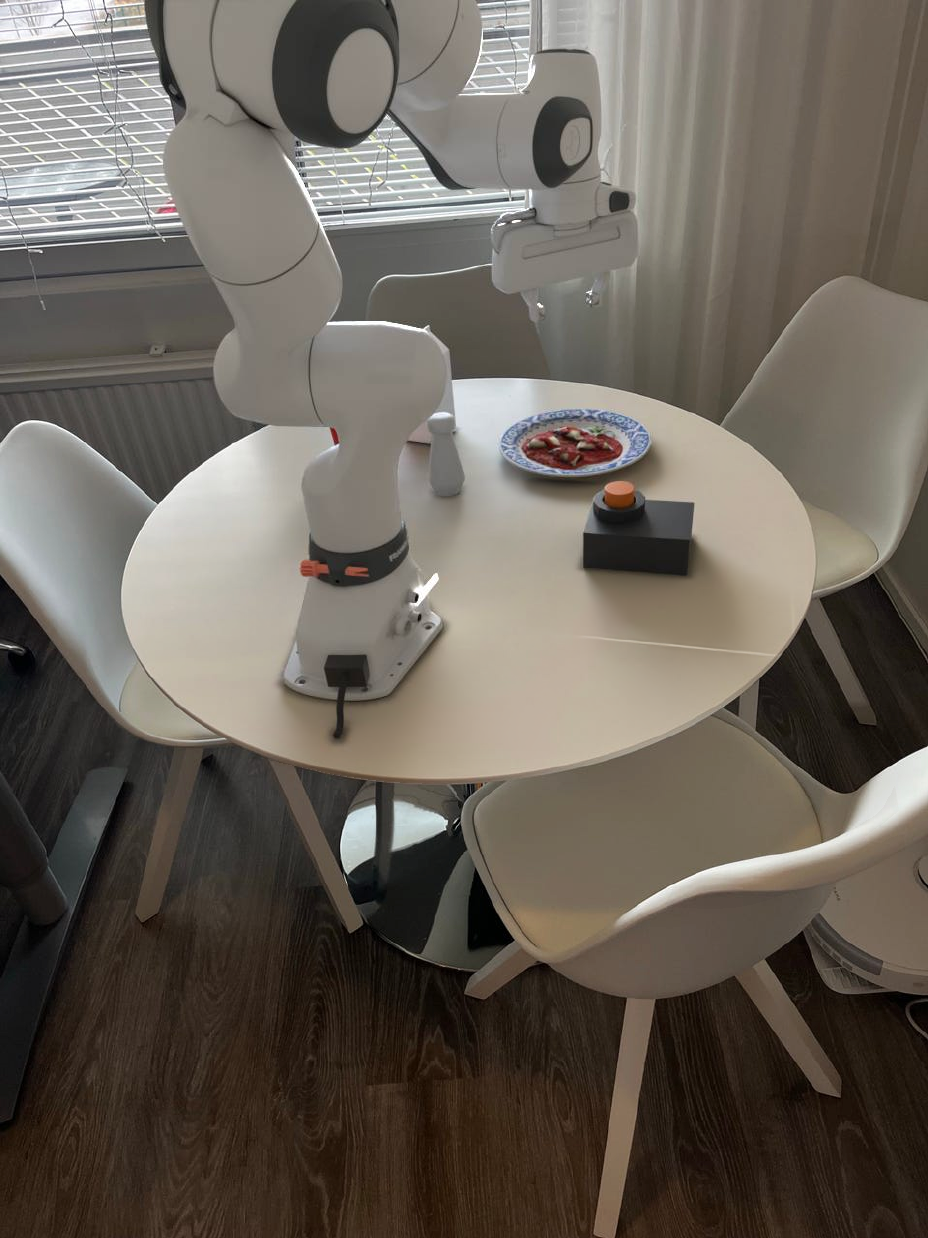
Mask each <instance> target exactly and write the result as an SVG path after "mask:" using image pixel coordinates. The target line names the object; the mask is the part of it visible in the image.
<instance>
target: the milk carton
mask: <svg viewBox="0 0 928 1238" xmlns="http://www.w3.org/2000/svg"><path fill="white" fill-rule="evenodd" d="M421 329H422V330H426V331H427V332H428V333H429V334H430V335H431V336H432V337H433V338H434V340H435V341H436V342H437V344H438V346H439V347H440V349H441V351H442V354H443V356H444V359H445V363H446V369H447V383H446V390H445V393H444V396H443V399H442V401H441V403H440V405H439V407H438V408H437V410H436V411H435V413H439V412H445V413H449V414H451V415H452V416H453V417H454V421H455V428H454V430H453V431H452V433H453V434H454V432H455V431H456V430H457V421H456V420H457V419H456V411H455V409H456V408H455V400H454V388H453V379H452V367H451V358H450V357H451V354H450V349H449V348H448V347H447V346H446V345H445V344H444V343H443V341H441V340H440V339H439V338H438V337H437V336H436V335H435V334H433V332H431V326H430V325H428V324H427V326H425V327H423V328H421ZM431 438H432V433H431V432H429V430H428V426H427V421H426V422H424V423H423V424H422V425H420V426H419V427H418V428H417V429H416V430H415V431H414V432H413V433H412V434H411V436H410V437H409V438H408V440H407V442H416V443H420V444H421V443H423V444H430V445H431Z"/></svg>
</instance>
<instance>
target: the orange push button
mask: <svg viewBox="0 0 928 1238" xmlns="http://www.w3.org/2000/svg"><path fill="white" fill-rule="evenodd" d="M604 489H605V504H606V505H609V506H611V507H617V508H623V507H628V506H631V505H632V504H633V503H634V490H636V488H635V486H634V484H632V483H631V482H629V481H623V480H617V481H616V480H615V481H611V482H608V483H606V485H605V487H604Z"/></svg>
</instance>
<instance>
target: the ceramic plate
mask: <svg viewBox="0 0 928 1238" xmlns="http://www.w3.org/2000/svg"><path fill="white" fill-rule="evenodd" d="M651 445H652V435H651V432H650V431H649V430H648V428H647V427H646V426H645V425H643V423H641V422H639V421H637V420H636V419H634V418H632V417H630V416H627V415H625V414H621V413H617V412H614V411H610V410H609V411H608V410H602V409H593V408H567V409H558V410H552V411H547V412H541V413H538V414H535V415H531V416H528V417H526V418H524V419H521V420H519V421H517V422H516V423H513V424H511V425H510V426H509V427H508V428H507V429H505V431H503V432H502V433H501V436H500V437H499V439H498V450H499V453H500V454H501V456H502V457H503V459H505V460H506V461H507V462H508V463H510V464H511V465H513V466H515V467H516V468H519V469H521V470H524V471H526V472H530V473H533V474H539V475H544V476H550V477H562V478H563V477H564V478H577V477H578V478H580V477H591V476H597V475H604V474H608V473H612V472H615V471H618V470H621V469H624V468H627V467H628V466H631V465H633V464H634V463H637V462H638V461H639V460H641V459H642V458H643V457H644V456H645V455H646V454H647V453H649V450H650V448H651V447H652V446H651Z"/></svg>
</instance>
